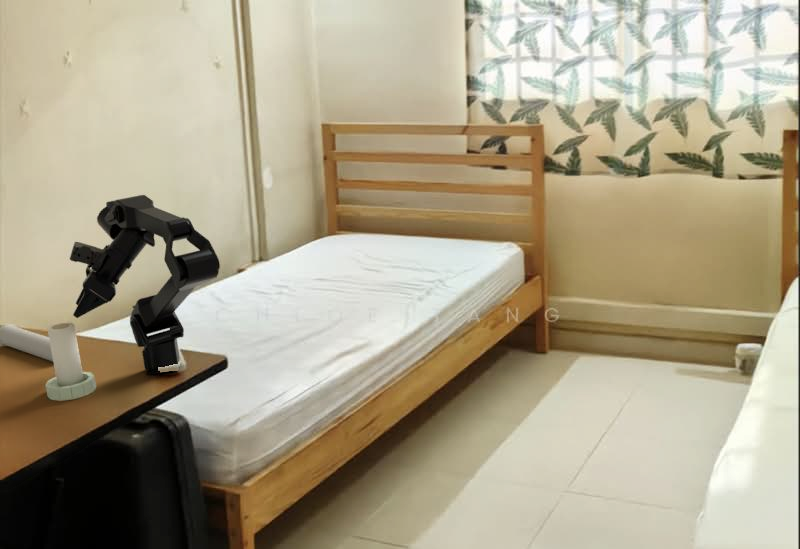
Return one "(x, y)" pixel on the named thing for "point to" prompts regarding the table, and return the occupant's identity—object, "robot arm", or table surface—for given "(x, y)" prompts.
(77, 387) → the holder
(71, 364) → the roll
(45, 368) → the table surface
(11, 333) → the tube
